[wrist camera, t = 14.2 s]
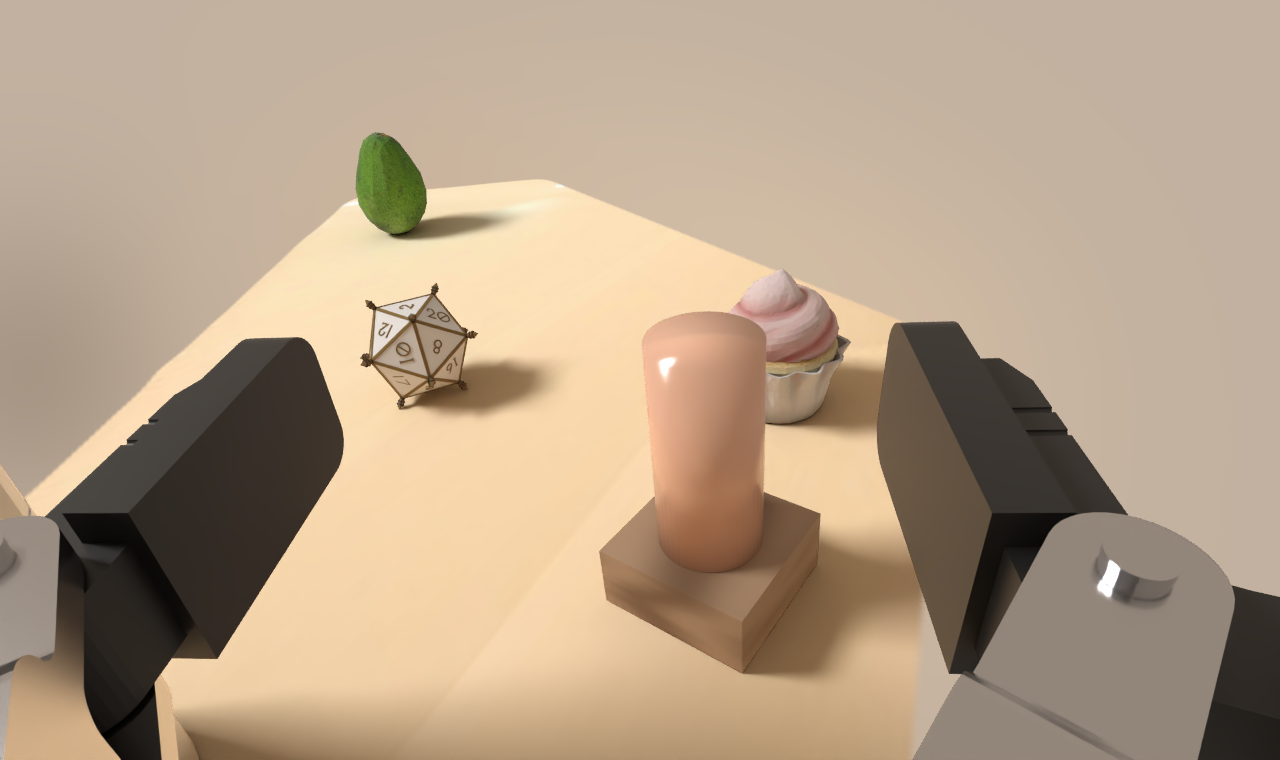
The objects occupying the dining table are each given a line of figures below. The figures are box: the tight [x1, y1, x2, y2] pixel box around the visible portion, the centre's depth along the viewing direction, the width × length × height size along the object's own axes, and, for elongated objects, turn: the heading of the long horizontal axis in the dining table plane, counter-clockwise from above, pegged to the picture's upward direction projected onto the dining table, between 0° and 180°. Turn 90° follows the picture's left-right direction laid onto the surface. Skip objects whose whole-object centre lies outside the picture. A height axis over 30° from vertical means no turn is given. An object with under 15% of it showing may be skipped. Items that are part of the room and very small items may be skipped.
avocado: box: [356, 132, 427, 234], centre depth 87 cm, size 8×8×12 cm
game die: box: [360, 283, 478, 409], centre depth 55 cm, size 9×8×10 cm
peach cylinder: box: [642, 312, 767, 573], centre depth 33 cm, size 5×5×11 cm
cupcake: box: [729, 269, 851, 424], centre depth 49 cm, size 9×9×10 cm
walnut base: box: [599, 492, 820, 673], centre depth 37 cm, size 8×8×4 cm
